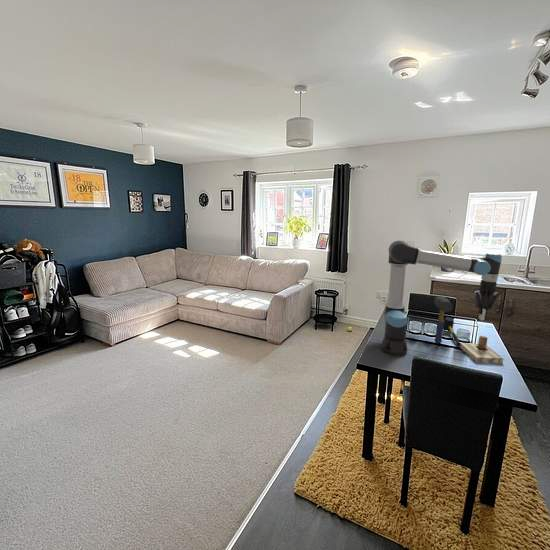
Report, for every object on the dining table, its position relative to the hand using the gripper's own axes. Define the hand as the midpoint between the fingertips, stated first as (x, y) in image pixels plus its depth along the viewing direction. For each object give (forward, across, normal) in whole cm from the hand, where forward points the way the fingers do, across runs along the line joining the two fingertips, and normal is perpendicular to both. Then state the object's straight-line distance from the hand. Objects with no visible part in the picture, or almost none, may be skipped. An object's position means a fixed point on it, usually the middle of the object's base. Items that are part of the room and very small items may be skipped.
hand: (481, 319), depth 175 cm
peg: (+20, +2, -2) cm, 21 cm away
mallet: (+21, -5, +19) cm, 29 cm away
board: (+20, 0, -5) cm, 21 cm away
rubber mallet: (+21, -18, +9) cm, 29 cm away
